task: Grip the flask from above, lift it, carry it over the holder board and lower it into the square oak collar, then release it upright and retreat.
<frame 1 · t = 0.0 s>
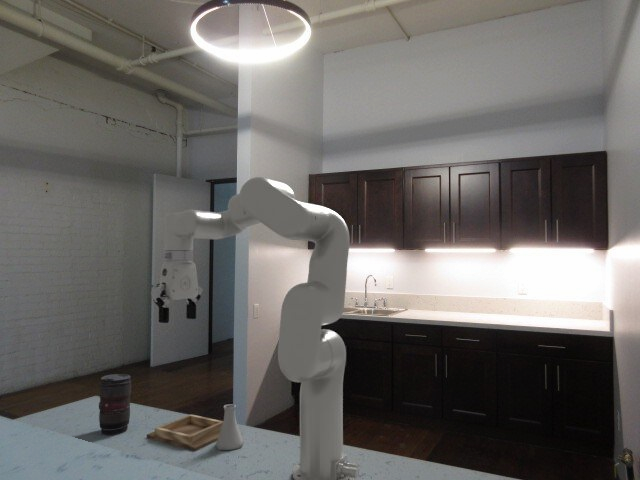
hand: (177, 320, 125), 31 cm above the table, tool pointing down, fingers open, 9 cm apart
flask: (229, 446, 118), on the table
shaker holder: (190, 435, 125), on the table
camera lens: (114, 431, 128), on the table
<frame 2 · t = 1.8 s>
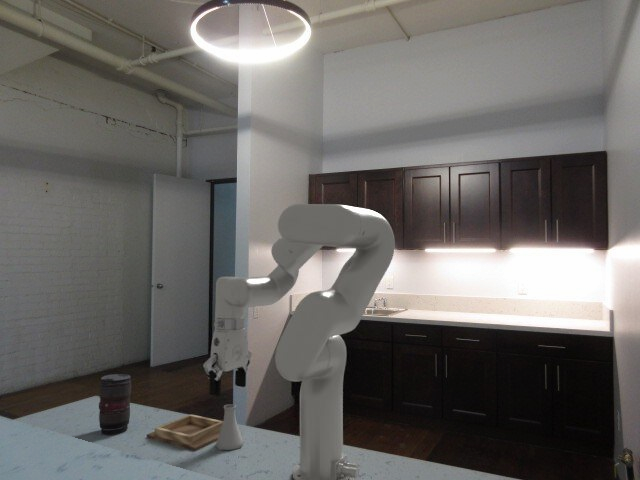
hand: (228, 390, 119), 14 cm above the table, tool pointing down, fingers open, 9 cm apart
nothing on the table moved.
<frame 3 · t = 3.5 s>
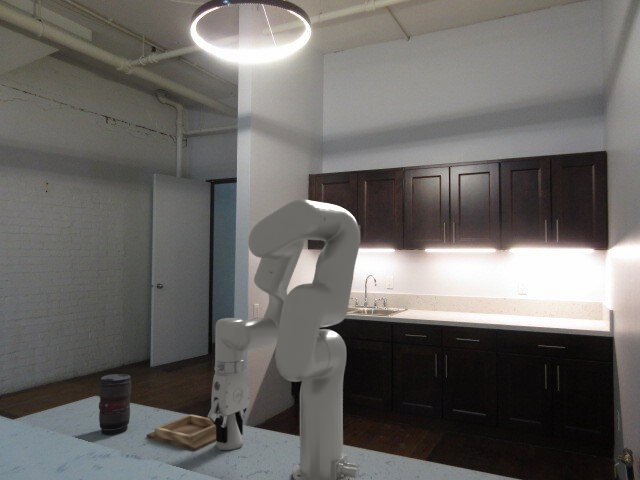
hand: (229, 437, 118), 2 cm above the table, tool pointing down, fingers closed on flask, 5 cm apart
flask: (229, 446, 118), on the table, touching gripper
everything else where it was.
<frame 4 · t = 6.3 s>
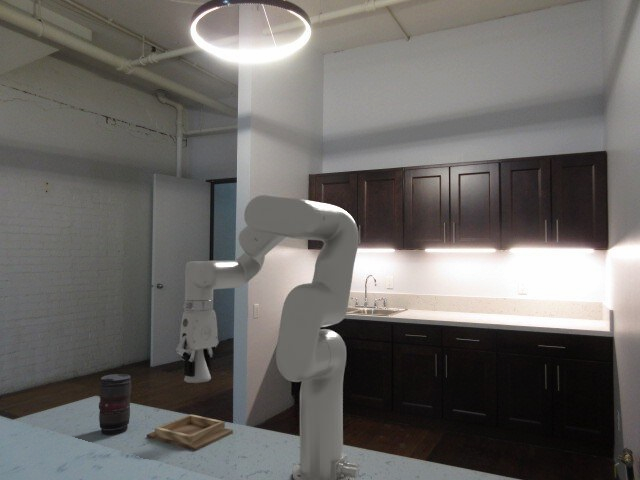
hand: (197, 372, 124), 17 cm above the table, tool pointing down, fingers closed on flask, 5 cm apart
flask: (197, 381, 124), point 15 cm above the table, touching gripper
everything else where it was.
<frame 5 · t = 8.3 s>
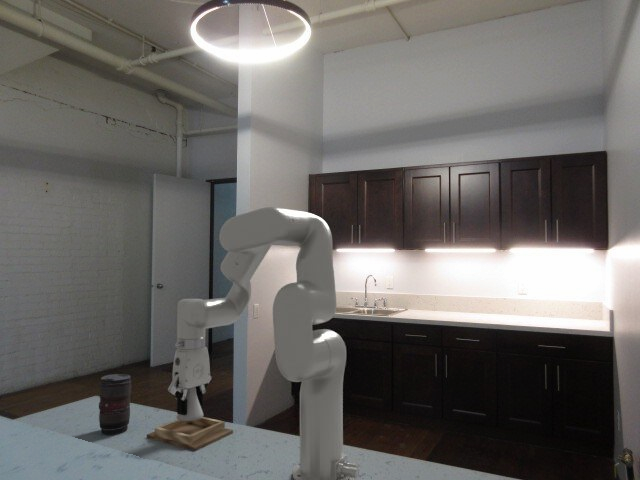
hand: (190, 410, 125), 7 cm above the table, tool pointing down, fingers closed on flask, 5 cm apart
flask: (190, 418, 125), point 4 cm above the table, touching gripper
everything else where it was.
when the fingers open (4 cm above the table, at t = 9.6 s): flask drops 1 cm, resting on shaker holder.
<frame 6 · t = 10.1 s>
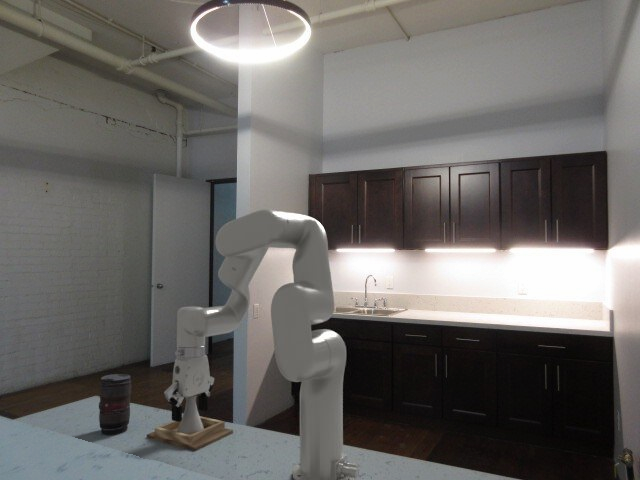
hand: (190, 415, 125), 5 cm above the table, tool pointing down, fingers open, 9 cm apart
flask: (190, 433, 125), point 1 cm above the table, touching shaker holder
everything else where it was.
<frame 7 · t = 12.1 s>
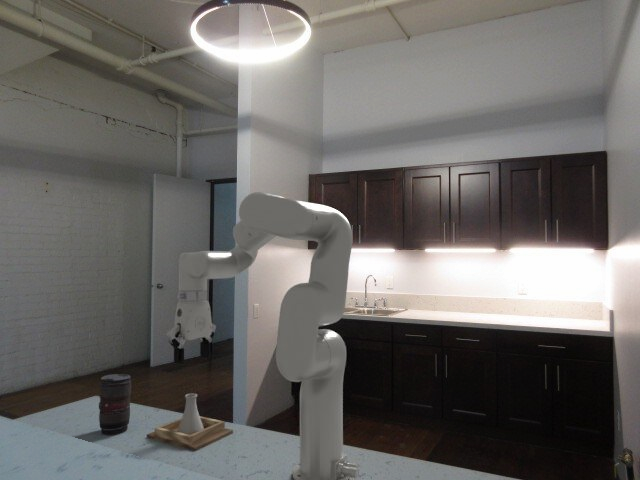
hand: (192, 359, 126), 20 cm above the table, tool pointing down, fingers open, 9 cm apart
nothing on the table moved.
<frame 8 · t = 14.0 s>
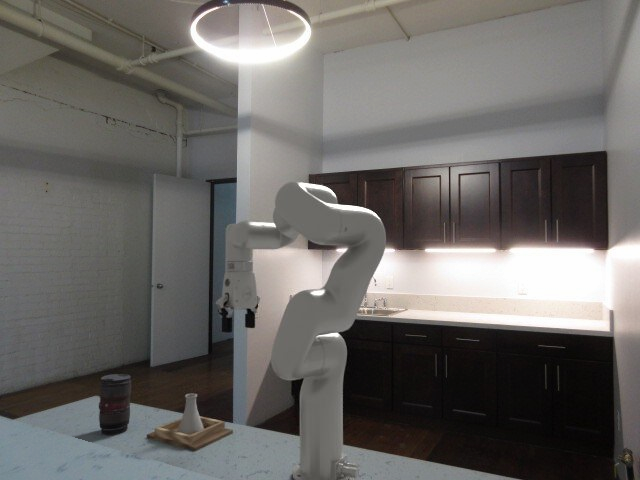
hand: (238, 329, 127), 28 cm above the table, tool pointing down, fingers open, 9 cm apart
nothing on the table moved.
at the end: flask 0.2 cm off-centre on the shaker holder, point 0.6 cm above the shaker holder's base; flask tilted 0°; the gripper is holding nothing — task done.
